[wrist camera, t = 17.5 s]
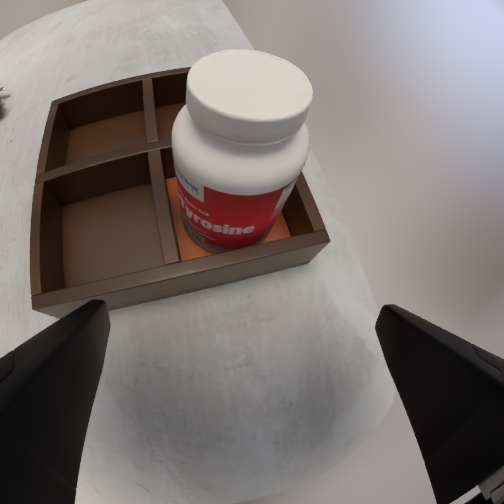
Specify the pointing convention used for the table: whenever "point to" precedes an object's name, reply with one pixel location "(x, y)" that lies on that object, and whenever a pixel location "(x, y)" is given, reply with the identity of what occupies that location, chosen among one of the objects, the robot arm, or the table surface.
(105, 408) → the table surface
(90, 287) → the grid
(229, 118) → the pill bottle
